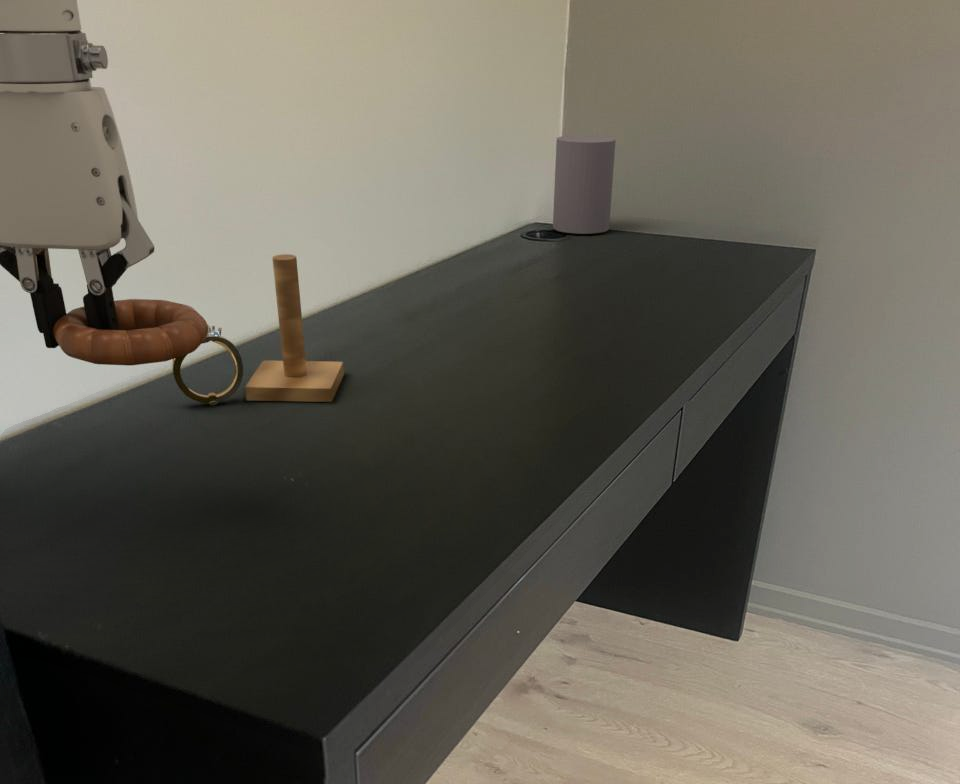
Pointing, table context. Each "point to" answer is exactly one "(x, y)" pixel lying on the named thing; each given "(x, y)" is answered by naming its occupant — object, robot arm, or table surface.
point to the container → (583, 184)
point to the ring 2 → (212, 397)
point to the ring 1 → (133, 333)
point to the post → (292, 351)
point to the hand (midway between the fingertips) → (81, 341)
